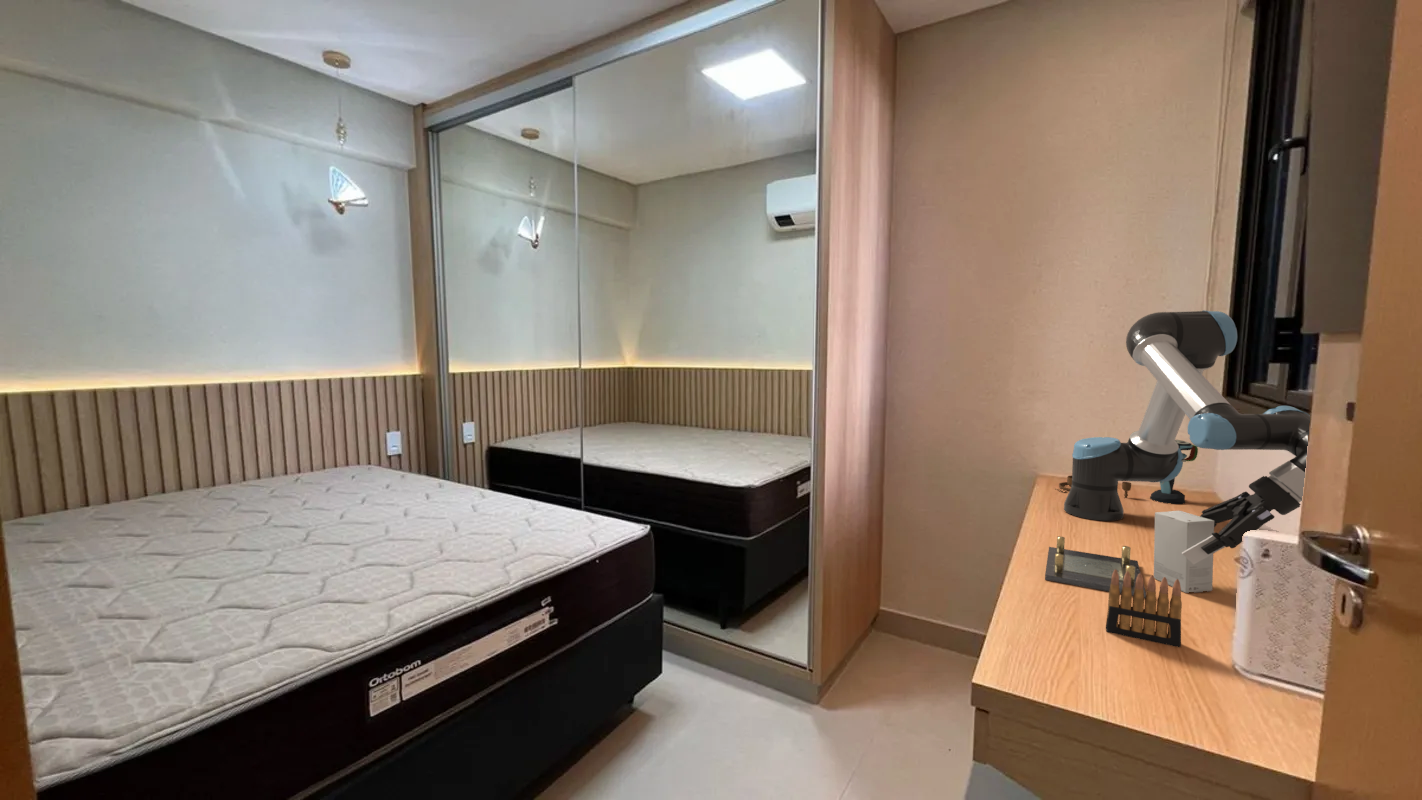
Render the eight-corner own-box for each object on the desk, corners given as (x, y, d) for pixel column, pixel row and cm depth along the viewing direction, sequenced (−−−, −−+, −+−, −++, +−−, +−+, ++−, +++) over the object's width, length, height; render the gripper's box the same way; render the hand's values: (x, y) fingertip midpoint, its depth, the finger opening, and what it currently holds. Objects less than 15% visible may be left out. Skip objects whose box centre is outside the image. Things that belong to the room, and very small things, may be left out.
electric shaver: (1143, 496, 188) (1146, 438, 186) (1181, 496, 187) (1185, 438, 185) (1161, 504, 179) (1165, 443, 177) (1201, 504, 178) (1206, 443, 176)
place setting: (1088, 485, 205) (1089, 469, 205) (1134, 500, 186) (1135, 483, 185) (1044, 487, 204) (1045, 471, 203) (1085, 503, 184) (1086, 485, 183)
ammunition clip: (1179, 642, 99) (1183, 578, 98) (1180, 647, 97) (1185, 582, 96) (1105, 627, 104) (1109, 566, 103) (1106, 632, 103) (1109, 569, 102)
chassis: (1048, 551, 142) (1049, 531, 141) (1137, 565, 132) (1138, 544, 131) (1044, 579, 125) (1045, 557, 125) (1145, 598, 115) (1146, 574, 115)
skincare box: (1213, 592, 118) (1218, 521, 116) (1184, 594, 117) (1189, 522, 116) (1176, 576, 126) (1181, 509, 124) (1149, 577, 125) (1153, 510, 124)
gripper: (1326, 521, 99) (1209, 583, 109) (1282, 489, 120) (1187, 544, 129) (1286, 488, 101) (1175, 552, 111) (1251, 462, 122) (1160, 518, 132)
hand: (1182, 548), depth 120 cm, fingers open, 13 cm apart
